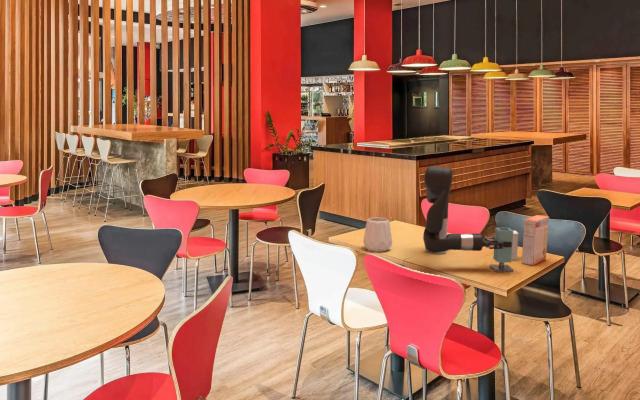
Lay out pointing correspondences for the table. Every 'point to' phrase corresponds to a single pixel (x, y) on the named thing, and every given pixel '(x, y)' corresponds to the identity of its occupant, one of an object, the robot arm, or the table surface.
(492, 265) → the plate
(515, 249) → the supplement box
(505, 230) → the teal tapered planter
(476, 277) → the table surface
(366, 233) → the vase
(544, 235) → the cracker box
